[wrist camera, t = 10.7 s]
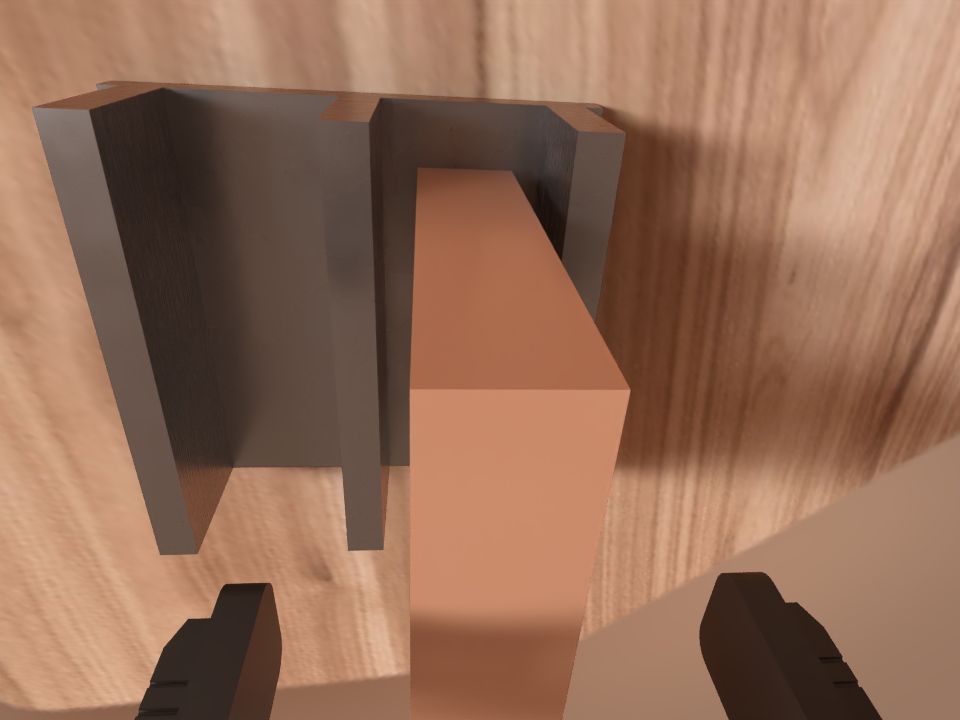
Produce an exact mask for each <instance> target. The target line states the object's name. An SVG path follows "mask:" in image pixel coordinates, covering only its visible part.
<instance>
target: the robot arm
mask: <svg viewBox="0 0 960 720" xmlns="http://www.w3.org/2000/svg"><path fill="white" fill-rule="evenodd" d="M700 646H701V651H702V655H703V658H704V661H705V664H706V666H707V669H708V671H709V673H710V676H711V678H712V681H713V683H714V685H715V688H716V690H717V693H718V695H719V697H720V700H721V702H722V705H723V707H724V709H725V712H726V714H727V716H728V719H729V720H882V718H881V717H880V715H879V714H878V712H877V710H876V709H875V707H874V706H873V704H872V703H871V701H870V699H869V698H868V696H867V695H866V693H865V691H864V690H863V688H862V687H859V686H858V680H857V679H856V677H855V676H854V674H853V672H852V671H851V669H850V668H849V666H848V665H847V663H846V662H845V663H844V662H843V660H842V655H841V654H840V652H839V650H838V649H837V647H836V646H835V644H834V642H833V641H832V639H831V638H830V636H829V635H828V633H827V631H826V630H825V628H824V627H823V626H822V625H821V624H820V623H819V622H818V621H816V619H814V618H813V617H812V616H811V615H810V614H809V613H808V612H807V611H806V610H805V609H804V608H803V607H801V606H800V605H799V604H798V603H797V602H795V603H785V601H784V600H783V598H782V596H781V594H780V593H779V591H778V589H777V588H776V586H775V584H774V583H773V581H772V580H771V578H770V577H769V576H768V575H767V574H765V573H763V572H745V573H744V572H743V573H721V574H720V575H719V576H718V578H717V580H716V583H715V586H714V589H713V591H712V594H711V597H710V600H709V602H708V605H707V608H706V611H705V613H704V616H703V619H702V622H701V625H700ZM281 655H282V639H281V632H280V626H279V621H278V615H277V609H276V604H275V598H274V592H273V587H272V585H271V583H244V584H225V585H224V586H223V588H222V589H221V591H220V593H219V596H218V599H217V602H216V605H215V607H214V610H213V613H212V616H211V618H204V619H188V620H187V621H186V622H185V623H184V625H183V626H182V627H181V628H180V629H179V631H178V632H177V633H176V634H175V635H174V636H173V638H172V639H171V640H170V641H169V642H168V643H167V645H166V646H165V647H164V648H163V651H162V653H161V656H160V658H159V661H158V663H157V666H156V668H155V671H154V673H153V675H152V678H151V680H150V687H149V688H147V690H146V693H145V695H144V698H143V700H142V702H141V705H140V707H139V714H138V716H136V718H135V720H269V718H270V714H271V709H272V705H273V700H274V695H275V691H276V687H277V682H278V677H279V672H280V665H281Z"/></svg>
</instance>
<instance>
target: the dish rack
mask: <svg viewBox="0 0 960 720" xmlns="http://www.w3.org/2000/svg"><path fill="white" fill-rule="evenodd" d="M96 85H97V89H98V91H94V92H90V93H86V94H82V95H79V96H75V97H71V98H67V99H63V100H59V101H55V102H51V103H47V104H43V105H39V106H36V107H32V110H33V114H34V117H35V121H36V124H37V128H38V131H39V135H40V138H41V142H42V145H43V149H44V152H45V156H46V159H47V163H48V166H49V170H50V173H51V177H52V180H53V184H54V187H55V191H56V194H57V197H58V201H59V204H60V208H61V211H62V215H63V218H64V222H65V225H66V229H67V232H68V236H69V239H70V243H71V246H72V250H73V253H74V257H75V260H76V264H77V267H78V271H79V274H80V278H81V281H82V284H83V288H84V291H85V295H86V298H87V302H88V305H89V309H90V312H91V316H92V319H93V323H94V326H95V330H96V333H97V337H98V340H99V344H100V347H101V351H102V354H103V358H104V361H105V364H106V368H107V371H108V375H109V378H110V382H111V385H112V389H113V392H114V396H115V399H116V403H117V406H118V410H119V413H120V417H121V420H122V424H123V427H124V431H125V434H126V438H127V441H128V445H129V448H130V451H131V455H132V458H133V462H134V465H135V469H136V472H137V476H138V479H139V483H140V486H141V490H142V493H143V497H144V500H145V504H146V507H147V511H148V514H149V518H150V521H151V525H152V528H153V532H154V535H155V538H156V542H157V545H158V549H159V552H160V555H182V554H198V552H199V549H200V547H201V544H202V542H203V540H204V537H205V535H206V532H207V530H208V527H209V525H210V523H211V520H212V518H213V515H214V513H215V510H216V508H217V506H218V503H219V501H220V498H221V496H222V494H223V491H224V489H225V486H226V484H227V481H228V479H229V477H230V474H231V472H232V469H233V468H240V467H340V466H342V473H343V487H344V501H345V514H346V528H347V541H348V551H356V550H383V548H384V534H385V521H386V507H387V493H388V480H389V466H410V367H411V338H412V310H413V281H414V253H415V224H416V196H417V167H423V168H449V169H476V170H503V171H512V172H513V174H514V176H515V178H516V180H517V181H518V183H519V185H520V187H521V189H522V191H523V192H524V194H525V196H526V198H527V200H528V202H529V203H530V205H531V207H532V209H533V211H534V213H535V215H536V216H537V218H538V220H539V222H540V224H541V226H542V227H543V229H544V231H545V233H546V235H547V237H548V238H549V240H550V242H551V244H552V246H553V248H554V250H555V251H556V253H557V255H558V257H559V259H560V261H561V262H562V264H563V266H564V268H565V270H566V272H567V273H568V275H569V277H570V279H571V281H572V283H573V285H574V286H575V288H576V290H577V292H578V294H579V296H580V297H581V299H582V301H583V303H584V305H585V307H586V308H587V310H588V312H589V314H590V316H591V318H592V319H593V321H594V323H596V317H597V311H598V305H599V298H600V292H601V286H602V280H603V274H604V268H605V262H606V256H607V249H608V243H609V237H610V231H611V225H612V219H613V213H614V207H615V200H616V194H617V188H618V182H619V176H620V170H621V164H622V158H623V151H624V145H625V139H626V133H625V132H624V131H622V130H620V129H619V128H617V127H616V126H614V125H612V124H611V123H609V122H607V121H606V120H604V119H603V118H602V115H603V108H602V107H601V106H599V105H597V104H590V103H569V102H548V101H527V100H506V99H485V98H464V97H444V96H423V95H402V94H381V93H360V92H339V91H318V90H297V89H276V88H255V87H234V86H214V85H193V84H172V83H151V82H130V81H108V82H104V83H100V84H96Z"/></svg>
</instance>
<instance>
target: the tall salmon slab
mask: <svg viewBox="0 0 960 720" xmlns="http://www.w3.org/2000/svg"><path fill="white" fill-rule="evenodd" d="M630 391H631V389H630V388H629V386H628V384H627V382H626V380H625V378H624V377H623V375H622V373H621V371H620V369H619V367H618V366H617V364H616V362H615V360H614V358H613V356H612V354H611V353H610V351H609V349H608V347H607V345H606V343H605V342H604V340H603V338H602V336H601V334H600V332H599V331H598V329H597V327H596V325H595V323H594V321H593V319H592V318H591V316H590V314H589V312H588V310H587V308H586V307H585V305H584V303H583V301H582V299H581V297H580V296H579V294H578V292H577V290H576V288H575V286H574V285H573V283H572V281H571V279H570V277H569V275H568V273H567V272H566V270H565V268H564V266H563V264H562V262H561V261H560V259H559V257H558V255H557V253H556V251H555V250H554V248H553V246H552V244H551V242H550V240H549V238H548V237H547V235H546V233H545V231H544V229H543V227H542V226H541V224H540V222H539V220H538V218H537V216H536V215H535V213H534V211H533V209H532V207H531V205H530V203H529V202H528V200H527V198H526V196H525V194H524V192H523V191H522V189H521V187H520V185H519V183H518V181H517V180H516V178H515V176H514V174H513V172H512V171H503V170H476V169H449V168H423V167H417V196H416V224H415V253H414V281H413V310H412V338H411V367H410V669H411V720H562V718H563V713H564V708H565V703H566V698H567V694H568V689H569V684H570V679H571V675H572V670H573V665H574V660H575V655H576V650H577V646H578V641H579V636H580V631H581V626H582V622H583V617H584V612H585V607H586V602H587V598H588V593H589V588H590V583H591V578H592V574H593V569H594V564H595V559H596V554H597V550H598V545H599V540H600V535H601V530H602V526H603V521H604V516H605V511H606V506H607V502H608V497H609V492H610V487H611V482H612V478H613V473H614V468H615V463H616V458H617V454H618V449H619V444H620V439H621V434H622V430H623V425H624V420H625V415H626V410H627V406H628V401H629V396H630Z"/></svg>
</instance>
